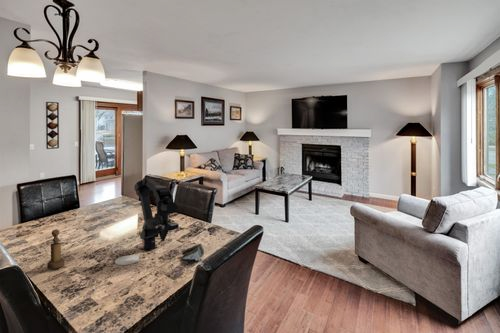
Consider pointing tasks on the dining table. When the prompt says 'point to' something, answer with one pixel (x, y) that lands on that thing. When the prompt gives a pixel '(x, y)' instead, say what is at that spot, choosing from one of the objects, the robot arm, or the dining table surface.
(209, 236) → the dining table surface
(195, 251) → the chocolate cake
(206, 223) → the dining table surface
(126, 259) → the white round plate
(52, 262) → the wooden chess pawn
